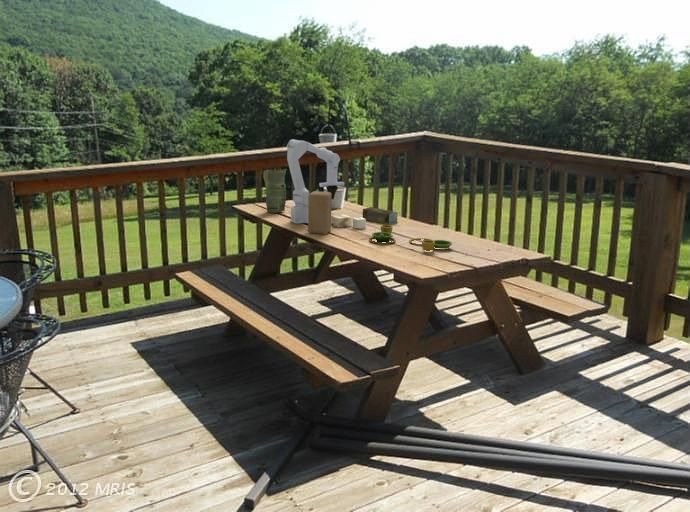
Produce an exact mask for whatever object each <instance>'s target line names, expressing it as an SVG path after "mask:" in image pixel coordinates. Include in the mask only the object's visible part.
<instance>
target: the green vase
mask: <svg viewBox="0 0 690 512" xmlns="http://www.w3.org/2000/svg"><path fill="white" fill-rule="evenodd" d="M286 171H288V169H287V168H283V169H278V170H277V168H274V169H265V170H262V172H263V173H262V178H263V181H264V185H265V196H266V197H265V200H266V201H265V206H266V209H267V210H266V212H267V213H270V214H271V213H272V214H273V213H274V214H277V213H282V212H285V211H286V203H287V202H286V201H287V194H288V193H287V192H288V191H287V189H286V184H285V181H286V180H285V177H286V173H287V172H286Z"/></svg>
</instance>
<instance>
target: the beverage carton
mask: <svg viewBox="0 0 690 512" xmlns="http://www.w3.org/2000/svg"><path fill="white" fill-rule="evenodd" d="M398 213H399V212H397V211H394V210H388V209H382V208H377V207H372V206H370V207H366V208H362V218H364V219H366V221H369V222H375V223H381V224H384V225H393V224H397V223H398Z"/></svg>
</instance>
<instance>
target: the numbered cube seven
mask: <svg viewBox="0 0 690 512" xmlns="http://www.w3.org/2000/svg"><path fill="white" fill-rule="evenodd" d="M366 226H367V220H366V219H364V218H363V216H360V217H352V228H354V227H355V228H354V229H356V228H363V229H367V228H366Z"/></svg>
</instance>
